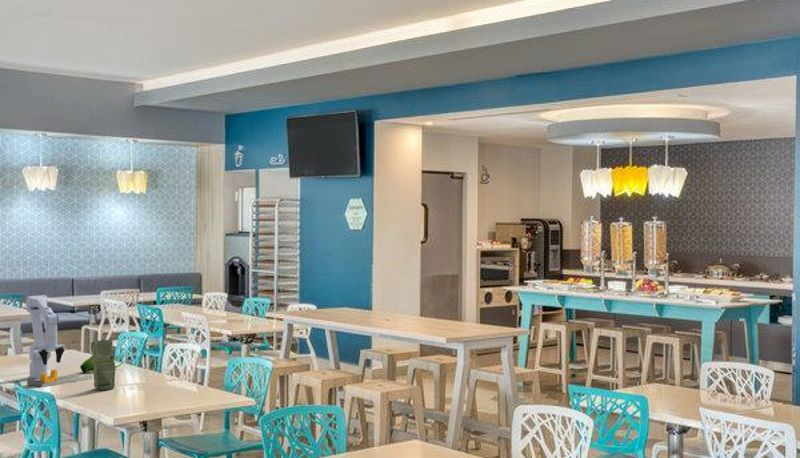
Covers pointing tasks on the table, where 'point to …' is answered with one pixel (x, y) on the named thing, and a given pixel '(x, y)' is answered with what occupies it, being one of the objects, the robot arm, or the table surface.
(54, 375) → the pipe clamp
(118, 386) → the table surface
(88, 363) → the decorative plant
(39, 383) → the rail
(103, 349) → the pouch
